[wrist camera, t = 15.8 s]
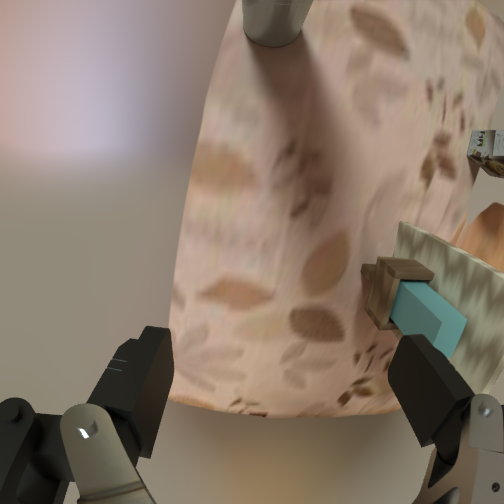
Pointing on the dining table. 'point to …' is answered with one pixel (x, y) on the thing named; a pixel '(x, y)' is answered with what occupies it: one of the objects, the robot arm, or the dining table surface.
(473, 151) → the coffee box
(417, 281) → the chunky teal box
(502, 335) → the ledge stand with backboard
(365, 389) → the dining table surface
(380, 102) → the dining table surface
